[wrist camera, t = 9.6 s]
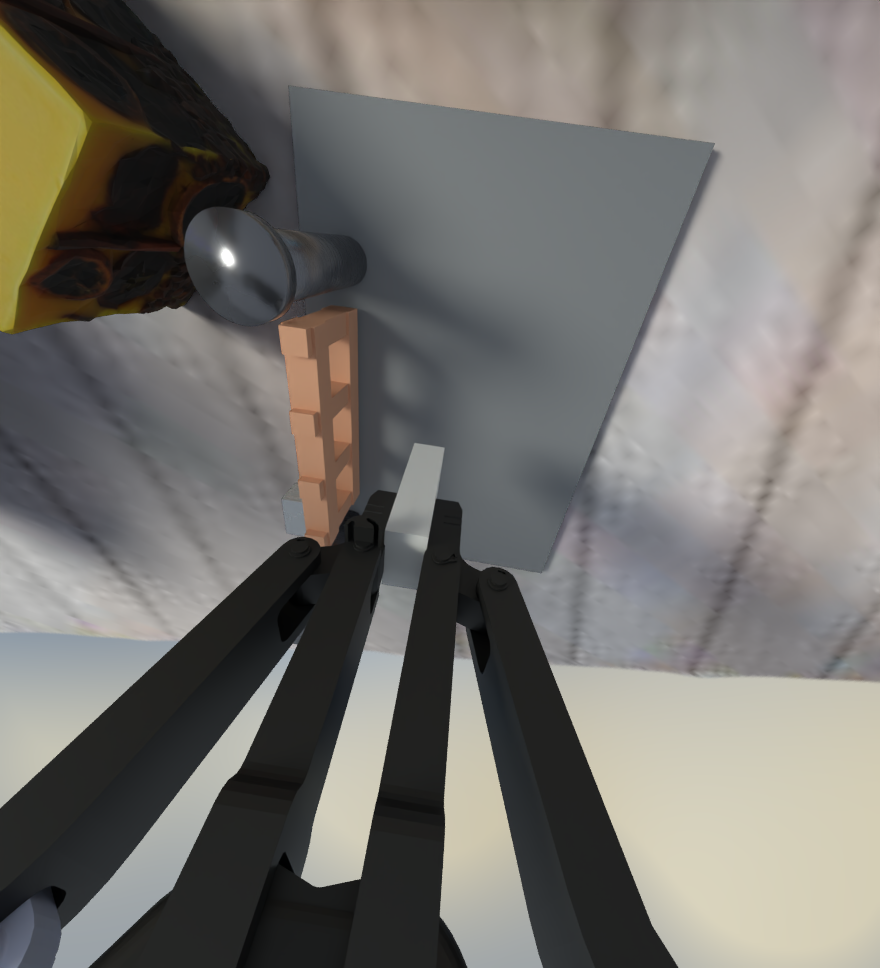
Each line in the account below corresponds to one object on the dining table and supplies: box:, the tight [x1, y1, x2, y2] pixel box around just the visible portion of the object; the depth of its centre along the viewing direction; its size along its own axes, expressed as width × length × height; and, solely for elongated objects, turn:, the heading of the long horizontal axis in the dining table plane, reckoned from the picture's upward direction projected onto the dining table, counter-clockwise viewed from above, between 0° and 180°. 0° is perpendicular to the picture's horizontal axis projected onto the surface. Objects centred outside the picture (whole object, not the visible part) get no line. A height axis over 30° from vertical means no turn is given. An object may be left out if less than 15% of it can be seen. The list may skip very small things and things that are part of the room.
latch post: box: [282, 483, 360, 644], centre depth 25 cm, size 5×6×11 cm
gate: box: [278, 305, 360, 547], centre depth 22 cm, size 13×2×6 cm, turn 173°
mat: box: [288, 85, 715, 573], centre depth 24 cm, size 19×27×1 cm
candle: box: [0, 0, 270, 334], centre depth 15 cm, size 10×10×10 cm
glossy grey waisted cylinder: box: [184, 207, 367, 326], centre depth 16 cm, size 3×3×11 cm
